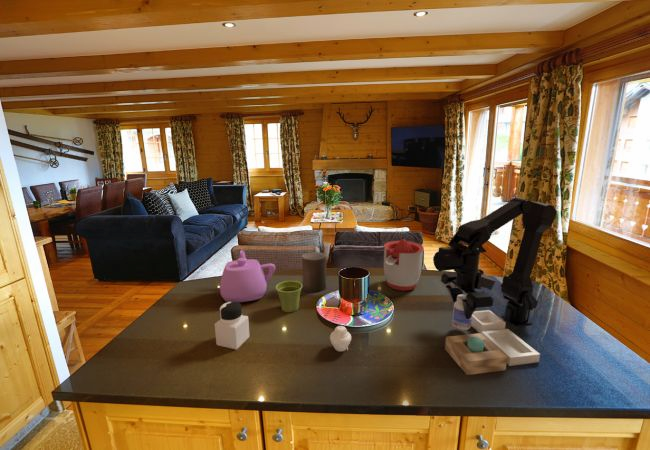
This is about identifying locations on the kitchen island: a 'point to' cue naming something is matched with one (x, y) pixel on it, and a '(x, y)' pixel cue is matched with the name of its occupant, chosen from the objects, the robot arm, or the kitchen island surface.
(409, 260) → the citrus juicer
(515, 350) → the shallow white tray
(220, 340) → the medicine bottle
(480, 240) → the robot arm
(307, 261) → the pillar candle
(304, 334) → the kitchen island surface
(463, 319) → the pill bottle
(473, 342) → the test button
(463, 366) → the square wooden tray
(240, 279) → the teapot
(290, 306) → the plant pot
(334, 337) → the white rounded piece
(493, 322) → the white tray box
